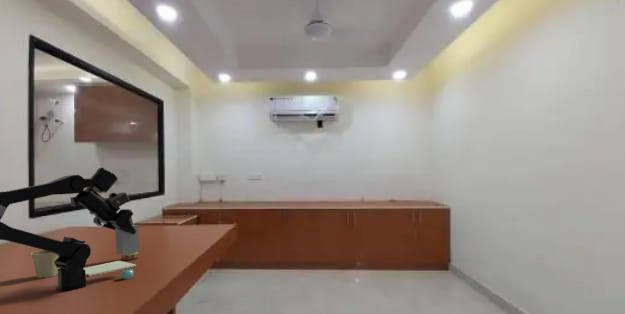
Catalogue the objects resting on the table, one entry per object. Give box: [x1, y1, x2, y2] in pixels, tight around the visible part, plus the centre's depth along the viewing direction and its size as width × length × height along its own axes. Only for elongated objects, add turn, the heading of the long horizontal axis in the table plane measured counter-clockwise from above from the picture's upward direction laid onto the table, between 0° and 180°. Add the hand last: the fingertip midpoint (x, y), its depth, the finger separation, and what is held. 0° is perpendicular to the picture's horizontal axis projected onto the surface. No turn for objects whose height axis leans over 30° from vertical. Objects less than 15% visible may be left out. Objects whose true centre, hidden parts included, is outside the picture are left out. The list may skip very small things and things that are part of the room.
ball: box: [120, 268, 134, 280], centre depth 134 cm, size 4×4×2 cm
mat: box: [83, 260, 137, 277], centre depth 150 cm, size 16×14×1 cm
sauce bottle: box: [120, 209, 139, 261], centre depth 166 cm, size 7×6×20 cm
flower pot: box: [29, 249, 60, 279], centre depth 144 cm, size 9×9×9 cm
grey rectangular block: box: [114, 224, 141, 255], centre depth 140 cm, size 5×5×9 cm
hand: (131, 232), depth 141 cm, fingers closed on grey rectangular block, 5 cm apart
